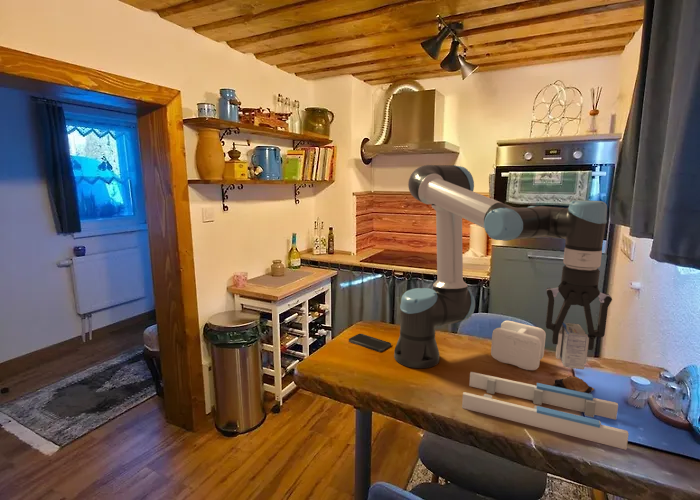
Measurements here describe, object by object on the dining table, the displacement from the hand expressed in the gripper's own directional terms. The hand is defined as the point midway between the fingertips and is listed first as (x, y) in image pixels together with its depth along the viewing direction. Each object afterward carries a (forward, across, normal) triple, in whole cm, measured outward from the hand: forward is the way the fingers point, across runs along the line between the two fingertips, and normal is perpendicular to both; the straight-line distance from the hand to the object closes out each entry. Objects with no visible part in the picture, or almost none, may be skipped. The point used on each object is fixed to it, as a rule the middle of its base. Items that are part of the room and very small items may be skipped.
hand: (570, 358), depth 93 cm
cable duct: (+16, -6, 0) cm, 17 cm away
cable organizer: (+17, -12, +29) cm, 36 cm away
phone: (+17, -62, +20) cm, 67 cm away
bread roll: (+17, +3, +18) cm, 25 cm away
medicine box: (+1, 0, 0) cm, 1 cm away
